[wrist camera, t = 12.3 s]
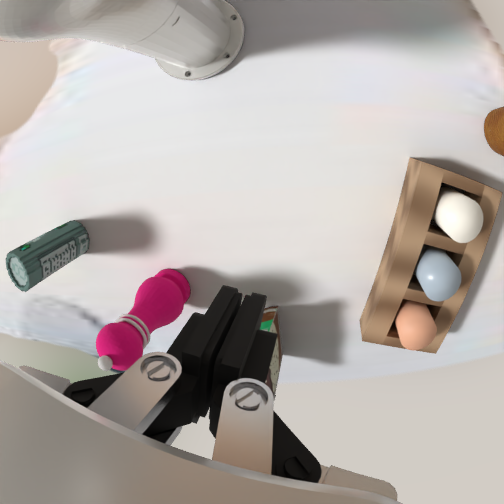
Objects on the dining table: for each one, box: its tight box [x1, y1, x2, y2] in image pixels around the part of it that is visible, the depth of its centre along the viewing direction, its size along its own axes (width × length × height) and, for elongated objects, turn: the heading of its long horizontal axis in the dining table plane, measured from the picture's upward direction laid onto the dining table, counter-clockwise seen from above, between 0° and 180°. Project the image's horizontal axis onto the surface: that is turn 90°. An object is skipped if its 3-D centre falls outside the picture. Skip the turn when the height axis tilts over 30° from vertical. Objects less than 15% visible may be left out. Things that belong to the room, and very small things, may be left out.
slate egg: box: [414, 244, 461, 301], centre depth 33 cm, size 5×5×6 cm
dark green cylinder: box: [6, 220, 89, 292], centre depth 42 cm, size 6×6×15 cm
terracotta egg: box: [394, 299, 437, 350], centre depth 36 cm, size 5×5×6 cm
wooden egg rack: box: [360, 158, 502, 353], centre depth 35 cm, size 24×12×5 cm, turn 171°
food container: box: [260, 306, 283, 400], centre depth 43 cm, size 12×6×10 cm, turn 7°
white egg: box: [432, 187, 483, 243], centre depth 30 cm, size 5×5×6 cm
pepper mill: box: [96, 269, 190, 371], centre depth 39 cm, size 7×7×20 cm
